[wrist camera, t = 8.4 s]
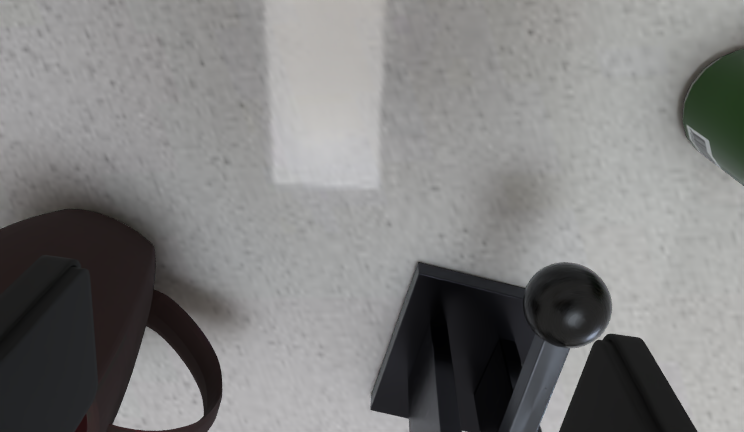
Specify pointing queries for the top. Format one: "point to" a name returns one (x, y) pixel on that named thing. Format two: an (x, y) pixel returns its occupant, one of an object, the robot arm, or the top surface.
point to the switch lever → (555, 335)
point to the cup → (115, 305)
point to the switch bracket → (454, 353)
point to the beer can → (718, 114)
